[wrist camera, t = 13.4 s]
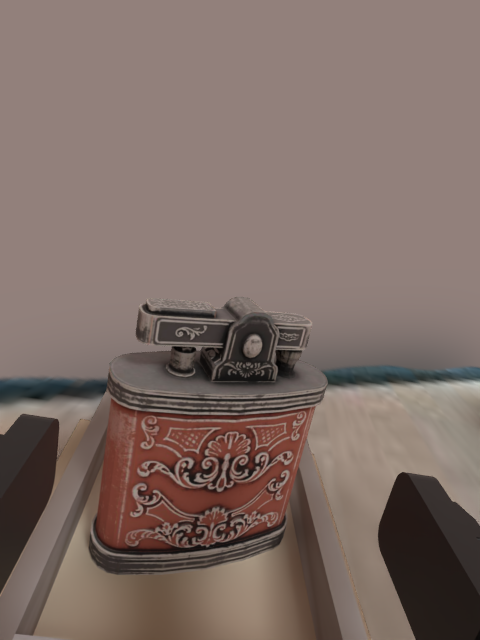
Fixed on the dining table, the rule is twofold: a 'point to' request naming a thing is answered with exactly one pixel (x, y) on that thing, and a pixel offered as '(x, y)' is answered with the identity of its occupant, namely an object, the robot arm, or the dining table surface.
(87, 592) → the tray
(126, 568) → the lighter
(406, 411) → the dining table surface
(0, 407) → the dining table surface
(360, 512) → the dining table surface
